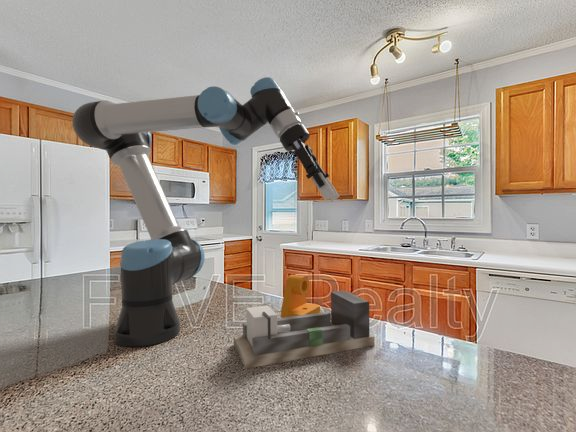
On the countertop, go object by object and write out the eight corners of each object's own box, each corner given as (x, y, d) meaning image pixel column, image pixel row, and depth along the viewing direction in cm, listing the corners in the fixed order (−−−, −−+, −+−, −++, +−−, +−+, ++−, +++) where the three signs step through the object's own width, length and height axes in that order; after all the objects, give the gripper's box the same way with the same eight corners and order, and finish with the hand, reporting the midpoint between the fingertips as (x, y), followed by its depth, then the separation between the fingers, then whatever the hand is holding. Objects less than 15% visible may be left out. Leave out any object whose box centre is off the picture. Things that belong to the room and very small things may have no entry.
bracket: (303, 325, 86) (302, 281, 86) (280, 320, 90) (280, 278, 90) (321, 314, 95) (321, 274, 95) (300, 310, 99) (300, 271, 99)
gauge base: (245, 369, 62) (244, 318, 62) (233, 344, 74) (233, 301, 73) (374, 345, 73) (374, 301, 72) (347, 327, 84) (347, 289, 84)
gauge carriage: (257, 355, 63) (257, 319, 63) (246, 337, 72) (246, 306, 72) (299, 348, 66) (299, 314, 66) (284, 332, 75) (283, 301, 75)
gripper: (291, 108, 71) (342, 188, 69) (310, 133, 96) (348, 192, 94) (264, 128, 73) (313, 206, 71) (289, 147, 97) (326, 206, 95)
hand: (333, 198), depth 82 cm, fingers open, 13 cm apart
